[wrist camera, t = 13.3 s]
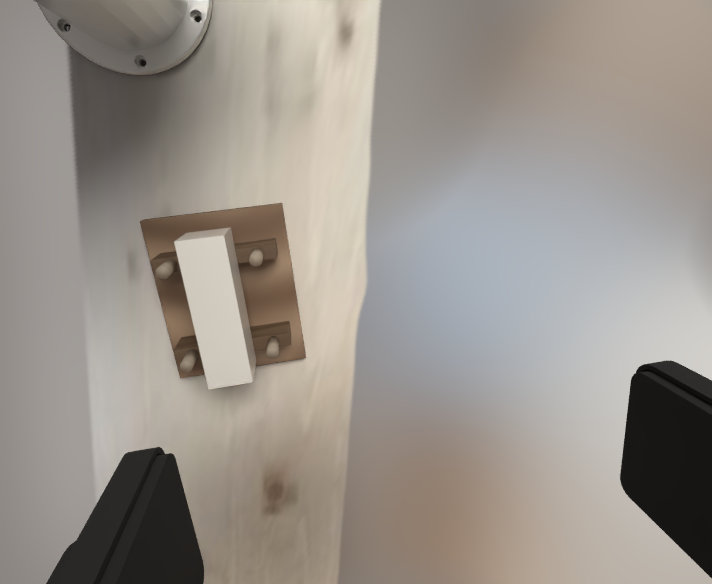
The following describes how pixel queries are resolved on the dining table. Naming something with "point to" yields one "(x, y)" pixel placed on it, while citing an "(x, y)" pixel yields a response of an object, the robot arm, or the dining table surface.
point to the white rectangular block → (217, 306)
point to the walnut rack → (258, 277)
